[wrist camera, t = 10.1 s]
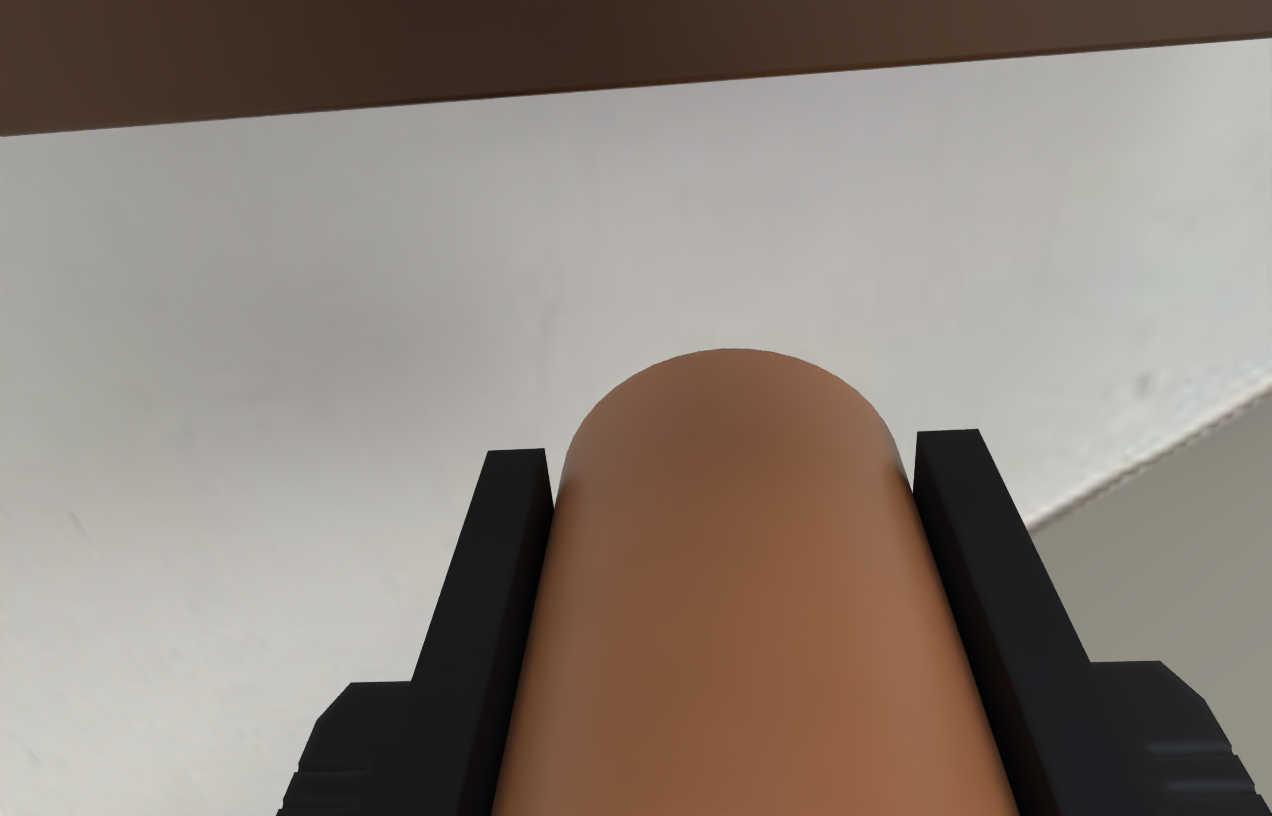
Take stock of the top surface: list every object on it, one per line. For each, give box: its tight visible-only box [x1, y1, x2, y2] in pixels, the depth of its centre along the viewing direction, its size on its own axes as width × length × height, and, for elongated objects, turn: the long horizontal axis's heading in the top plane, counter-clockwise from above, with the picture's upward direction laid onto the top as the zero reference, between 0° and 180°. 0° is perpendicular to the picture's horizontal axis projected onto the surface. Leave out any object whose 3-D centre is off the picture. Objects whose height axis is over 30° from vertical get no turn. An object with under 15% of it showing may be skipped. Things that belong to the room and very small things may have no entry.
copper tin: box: [491, 349, 1020, 816], centre depth 9 cm, size 5×5×10 cm
